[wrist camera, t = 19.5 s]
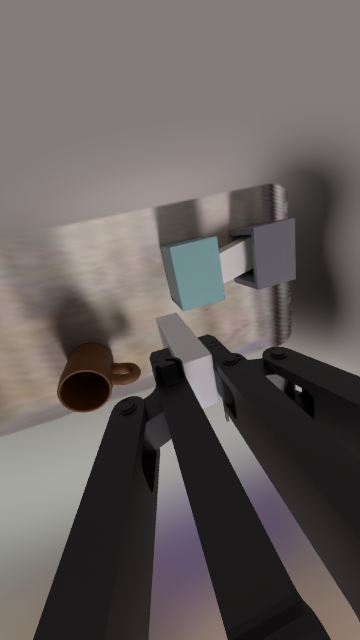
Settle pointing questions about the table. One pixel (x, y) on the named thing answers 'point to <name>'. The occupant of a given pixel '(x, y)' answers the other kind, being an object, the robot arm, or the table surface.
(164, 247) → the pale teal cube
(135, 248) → the table surface
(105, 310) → the table surface
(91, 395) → the mug
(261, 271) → the charcoal cap
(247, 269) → the slat
